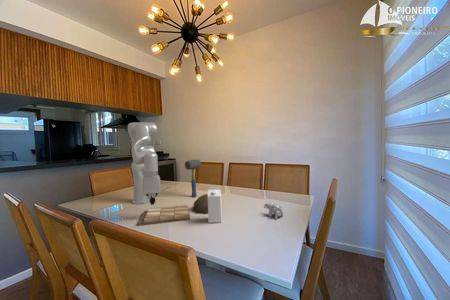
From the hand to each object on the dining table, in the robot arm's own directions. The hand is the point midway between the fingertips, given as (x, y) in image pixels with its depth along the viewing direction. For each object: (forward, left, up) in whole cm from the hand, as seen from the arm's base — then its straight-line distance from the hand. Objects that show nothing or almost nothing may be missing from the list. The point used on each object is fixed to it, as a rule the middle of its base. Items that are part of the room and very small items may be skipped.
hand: (152, 203), depth 124 cm
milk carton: (+15, +35, -9) cm, 39 cm away
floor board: (0, +7, -8) cm, 11 cm away
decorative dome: (-6, +33, -9) cm, 35 cm away
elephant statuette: (+18, +69, -9) cm, 72 cm away
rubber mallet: (-37, +27, -9) cm, 47 cm away
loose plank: (-3, 0, -7) cm, 8 cm away
